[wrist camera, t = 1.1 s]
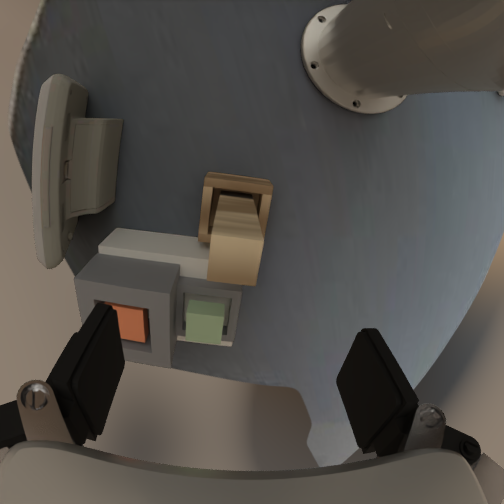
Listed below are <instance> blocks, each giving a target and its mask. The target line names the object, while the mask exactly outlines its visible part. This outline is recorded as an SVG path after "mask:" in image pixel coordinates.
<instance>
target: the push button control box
mask: <svg viewBox="0 0 504 504" xmlns="http://www.w3.org/2000/svg"><path fill="white" fill-rule="evenodd" d="M98 248H99V253H97V254H96V255H95V256H94V257H93V258H92V259H91V260H90V261H89V262H88V263H87V264H86V265H85V266H84V268H83V269H82V270H81V271H80V272H79V273H78V274H77V275H76V276H75V278H74V282H75V289H76V294H77V300H78V305H79V311H80V315H81V320H82V325H83V324H84V322H85V321H86V319H87V317H88V316H89V314H90V313H91V311H92V310H93V308H94V307H95V305H96V304H97V303H103V304H104V303H105V301H106V302H112V303H117V304H123V305H129V306H135V307H141V308H147V311H148V328H149V333H148V336H147V339H146V342H145V343H144V342H138V341H133V340H127V339H122V338H121V342H122V348H123V353H124V359H125V360H126V361H131V362H135V363H141V364H147V365H152V366H158V367H164V368H171V364H172V360H173V355H174V351H175V346H176V342H177V340H180V341H186V340H185V339H186V312H187V308H188V303H189V300H196V301H205V302H213V303H222V304H225V308H224V322H223V329H222V337H221V345H222V346H232V342H234V338H235V332H236V326H237V320H238V314H239V308H240V302H241V296H242V285H239V284H230V283H222V282H213V281H207V271H208V261H209V251H210V243H206V242H198V237H191V236H183V235H175V234H166V233H158V232H149V231H141V230H132V229H124V228H116V229H115V230H114V231H113V232H112V233H111V234H110V235H109V236H108V237H107V238H105V239H104V240H103V241H102V242H101V243H100V244H99V245H98ZM188 342H193V341H188ZM196 343H202V342H196ZM204 344H210V343H204ZM213 345H220V344H213Z"/></svg>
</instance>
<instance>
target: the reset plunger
mask: <svg viewBox="0 0 504 504" xmlns="http://www.w3.org/2000/svg"><path fill="white" fill-rule="evenodd" d="M104 304H109V305H112V307H113V309H115V310H116V311H117V315H118V322H119V329H120V335H121V338H122V339H127V340H133V341H138V342H144V343H145V342H146V339H147V336H148V333H149V328H148V311H147V308H141V307H135V306H129V305H123V304H117V303H112V302H106V301H105V303H104Z"/></svg>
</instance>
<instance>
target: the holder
mask: <svg viewBox="0 0 504 504" xmlns="http://www.w3.org/2000/svg"><path fill="white" fill-rule="evenodd" d="M221 190H224V191H231V192H239V193H246V194H252V196H253V200H254V204H255V207H256V211H257V215H258V219H259V223H260V227H261V231H262V235H263V239H264V236H265V230H266V225H267V219H268V214H269V209H270V203H271V198H272V192H273V185H272V184H271V182H270V181H269V180H267V179H261V178H254V177H247V176H240V175H232V174H225V173H217V172H208V173H207V174H206V176H205V179H204V187H203V196H202V205H201V214H200V224H199V234H198V242H206V243H210V242H211V234H212V229H213V224H214V220H215V215H216V210H217V206H218V201H219V197H220V193H221Z"/></svg>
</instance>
